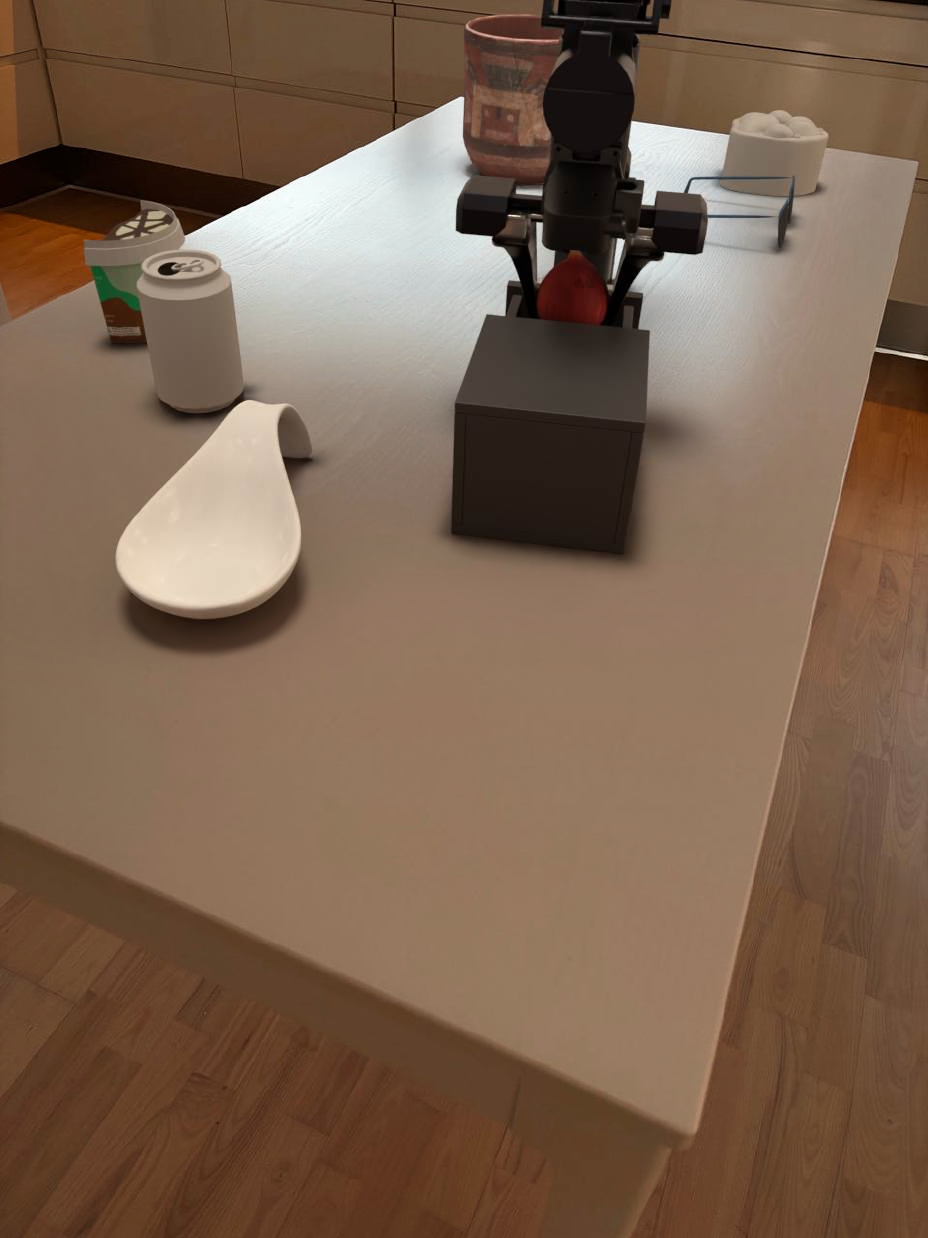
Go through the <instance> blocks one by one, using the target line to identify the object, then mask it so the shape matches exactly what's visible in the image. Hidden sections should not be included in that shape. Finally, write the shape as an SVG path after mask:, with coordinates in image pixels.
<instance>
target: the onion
mask: <svg viewBox="0 0 928 1238" xmlns="http://www.w3.org/2000/svg"><path fill="white" fill-rule="evenodd" d="M553 266H554V265H553ZM542 279H543V280H542V282H541V284H540V286H539V289H538V293H537V296H536V302H537V311H538V315H539V317H540V319H541V320H551V321H561V322H571V323H581V324H591V325H600V324H601V323H602V322H603V320H604V319H605V317H606V315H607V311H608V307H609V292H608V287H607V285H606V282H605V280H604V278H603V277H602V275H601V274H600V272H599V271H598V270H597V269H596V267H595V266H594V265H593V264H592V263H590V262H589V261H588V260H587V259H586V258H585V257H584V256H583V255H582V254H581V252H580V251H575V250H570V253H569V256H568V258H567V259H565V260H563V261H562V262H560V263H558V264H557V265H555V266H554V267H552V268H550V270H549V271H548V272H547V274H546V275H545V276H544V277H543V278H542Z"/></svg>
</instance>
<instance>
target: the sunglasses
mask: <svg viewBox="0 0 928 1238" xmlns="http://www.w3.org/2000/svg"><path fill="white" fill-rule="evenodd" d="M783 178H791V177H774V176H722V175H721V176H720V175H719V176H691V178H689V179H688V181H687V183H686V186H685V188H684V191H683V193H689V191H690V187H691V184H692V181H699V180H700V181H701V180H705V181H706V180H721V179H783ZM794 185H795V176H794V175H793V181H792V186H791V188H790V192H789V196H788V198H786V200H785V202H784V203H783V205H782V207H781V208H780V210H779V212H778V216H777V219H778V223H777V244H778V248H779V249H780V248H782V246H783V244H784V241H785V238H786V234H787V228H788V224H789V225H790V223H791V219H792V215H793V207H794V196H793V195H794ZM770 218H775V216H773V215H761V214H760V215H754V214H753V215H752V214H708V219H770Z"/></svg>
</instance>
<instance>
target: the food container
mask: <svg viewBox="0 0 928 1238" xmlns="http://www.w3.org/2000/svg"><path fill="white" fill-rule="evenodd" d="M185 242H186V236H185V234H184V231H183V228H182V225H181V223H180V220H179V218H178V217H177V216H176V214H175V212H174V210H172V209H171V208H169V206H166V205H163V204H161V203H157V202H153V201H149V200H142V199H141V200H140V211H139V212H138V213H137V214H136V215H135V216H133V217H132V218H130V219H128V220H125V221H121V222H119V223H117V224H116V225H115V226H113V228H111V229H110V231H109V232H108V233H107V234H106V236H104V237H103V238H102V239H101V240H91V239H83V243H84V248H83V251H84V252H83V254H84V262H85V266H90V270H91V273H92V278H93V282H94V285H95V287H96V292H97V295H98V299H99V303H100V306H101V310H102V314H103V319H104V322H105V325H106V328H107V329H106V330H107V332H108V335H109V339H110V343H113V344H115V343H116V344H140V343H147V339H146V334H145V328H144V323H143V318H142V312H141V307H140V301H139V296H138V291H137V281H138V280H139V278H140V277H141V276H142V274H143V273H144V272H143V271H142V263H143V262H144V261H145V260H146V259H147V258H149V257H151V256H152V255H155V254H158V253H161V252H165V251H171V250H180V248H181V247H182V246H183V245H184V243H185Z"/></svg>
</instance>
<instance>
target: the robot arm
mask: <svg viewBox="0 0 928 1238" xmlns="http://www.w3.org/2000/svg"><path fill="white" fill-rule="evenodd" d="M542 1H543V2H542V11H541V16H542V17H541V28H552V29H564V31H563V34H562V36H561V37H560V38H559V43H558V55H557V61H556V63H555V66H554V68H553V71H552V73H551V76H550V78H549V81H548V83H547V86H546V88H545V91H544V96H543V115H544V119H545V122H546V126H547V127H548V129H549V131H550V133H551V139H550V151H549V163H548V168H547V171H546V173H545V176H544V179H543V184H542V193H541V195H537V194H527V193H526V194H525V193H517V185H516V179H513V178H501V177H489V176H483V175H477V174H476V175H474V174H473V175H472V176H471V177H470V178H469V179H468V180H467V181H466V182H465V183H464V185H463V187H462V189H461V190H460V193H459V195H458V197H457V201H456V207H455V231H456V232H457V233H459V234H460V235H471V236H480V237H481V236H482V237H490V238H491V244H492V246H494V247H496V248H502V249H504V250H505V252H506V253H507V254H508V255H509V257H510V259H511V261H512V264H513V266H514V268H515V271H516V273H517V276H518V281H520V284H521V288H522V292H523V295H524V299H525V303H526V307H527V311H528V314H529V318H530V319H535V315H536V306H537V302H536V296H537V293H538V287H537V281H538V234H537V233H538V229H537V226H538V224H537V223H540V224H542V231H541V244H542V246H543V247H544V249H547V250H549V251H553V252H554V257H553V267H554V266H555V265H557V264H558V263H560V262H562V261H563V260H565V259H567V258H568V256H569V253H570V250H575V251H580V252H581V254H582V255H583V256H584V257H585V258H586V259H587V260H588V261H589V262H590V263H592V264H593V265H594V266H595V267H596V269H597V270H598V271H599V272H600V274H601V275H602V277H603V278H604V280H605V282H606V285H613V288H612V292H611V296H610V300H609V307H608V313H607V321H606V326H611V325H612V323H613V321H614V319H615V317H616V315H617V313H618V311H619V309H620V307H621V305H622V303H623V301H624V299H625V297H626V295H627V292H630V289H631V287H632V285H633V283H634V282H635V280H636V279H637V278H638V276H639V274H640V273H641V271H642V270H643V269H644V268H645V267H646V266H647V265H648V264H649V263H650V262H662V261H663V260H664V258H665V253H667V254H679V255H691V256H697V255H700V254H703V252H704V248H705V242H706V236H707V232H708V224H709V218H708V215H709V214H708V203H707V202H706V200H705V199H704V197H703V196H702V194H701V193H691V192H688V193H684V192H679V191H665V190H656V193H655V197H654V204H643V198H644V190H645V182H646V181H645V180H643V179H637V177H634V176H633V177H632V176H630V174H631V166H632V165H631V164H632V152H631V149H630V147H629V145H630V138H631V137H630V136H631V128H632V123H633V122H632V120H633V115H634V111H635V105H636V94H637V82H638V76H639V69H640V62H641V61H640V59H641V52H642V45H643V44H642V41H640V35H641V36H643V35H644V36H657V37H658V36H659V30H660V22H661V20H662V19H663V20H669V19H670V15H671V8H672V1H673V0H653V4H652V10H651V11H652V13H651V15H647V12H648V11H647V10H648V6H649V5H650V4H651V1H652V0H558V1H557V3H558V4H557V9H554V8H555V1H556V0H542ZM619 239H620V240H622V241H624V242H623V245H622V250H621V254H620V258H619V262H618V266H617V269H616V273H615V277H614V279H613V275H614V270H615V269H614V267H615V260H616V253H617V252H616V250H617V245H618V240H619ZM553 267H552V268H553Z"/></svg>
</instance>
